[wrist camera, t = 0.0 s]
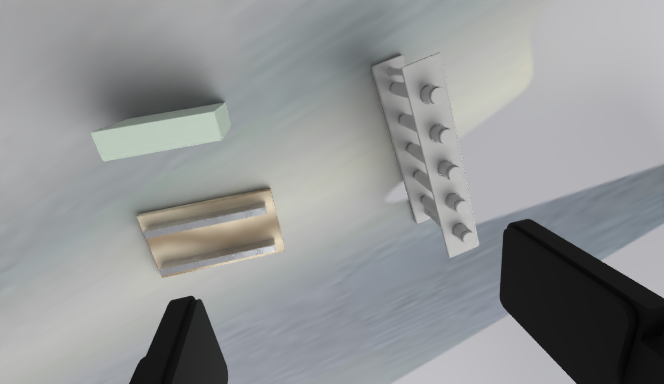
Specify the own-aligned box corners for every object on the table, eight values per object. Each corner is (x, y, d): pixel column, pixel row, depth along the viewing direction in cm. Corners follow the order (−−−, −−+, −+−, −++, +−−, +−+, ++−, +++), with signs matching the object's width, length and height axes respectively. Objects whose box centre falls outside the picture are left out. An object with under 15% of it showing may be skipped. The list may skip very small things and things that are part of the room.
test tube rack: (440, 211, 53) (490, 255, 41) (415, 221, 53) (457, 268, 41) (401, 54, 43) (451, 50, 31) (370, 66, 43) (409, 67, 31)
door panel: (127, 118, 40) (90, 132, 32) (225, 102, 42) (214, 111, 33) (136, 142, 42) (103, 161, 33) (231, 125, 43) (222, 140, 35)
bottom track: (139, 213, 45) (130, 223, 42) (270, 187, 47) (270, 195, 44) (164, 273, 49) (158, 286, 46) (284, 247, 50) (285, 258, 48)
